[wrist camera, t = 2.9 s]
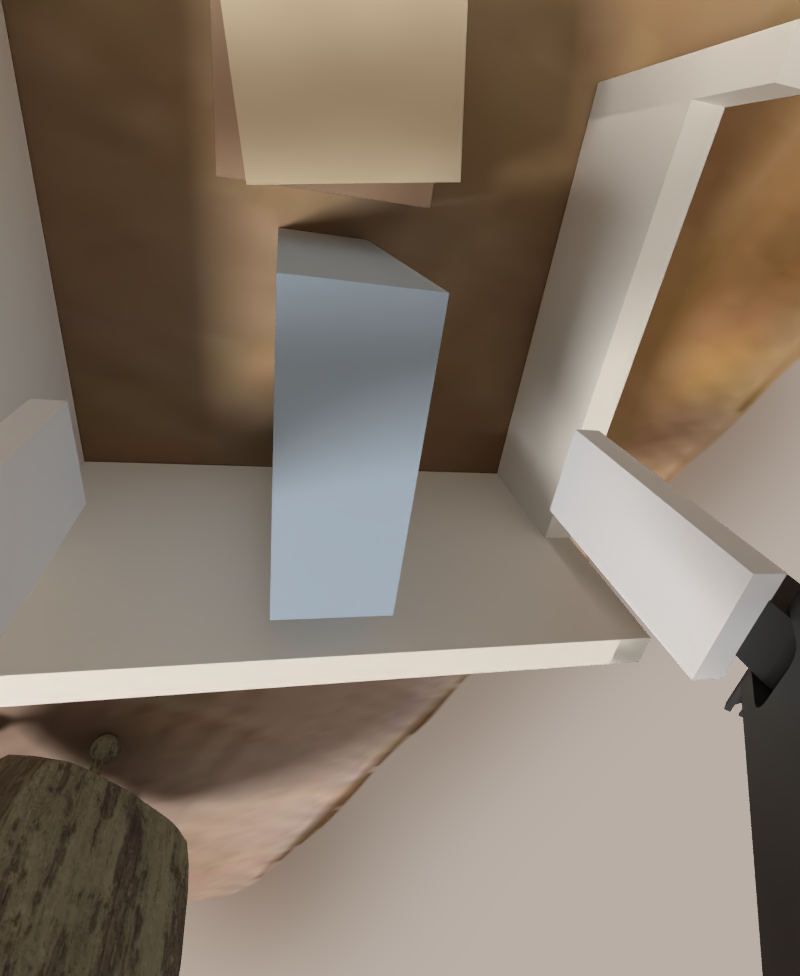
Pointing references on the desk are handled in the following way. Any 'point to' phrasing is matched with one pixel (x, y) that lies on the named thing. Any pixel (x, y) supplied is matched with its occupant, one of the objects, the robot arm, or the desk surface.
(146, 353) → the desk surface
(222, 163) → the offcut low
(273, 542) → the light blue upright slab
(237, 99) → the offcut top
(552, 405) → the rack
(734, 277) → the desk surface
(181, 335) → the desk surface
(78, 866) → the tabletop clock
